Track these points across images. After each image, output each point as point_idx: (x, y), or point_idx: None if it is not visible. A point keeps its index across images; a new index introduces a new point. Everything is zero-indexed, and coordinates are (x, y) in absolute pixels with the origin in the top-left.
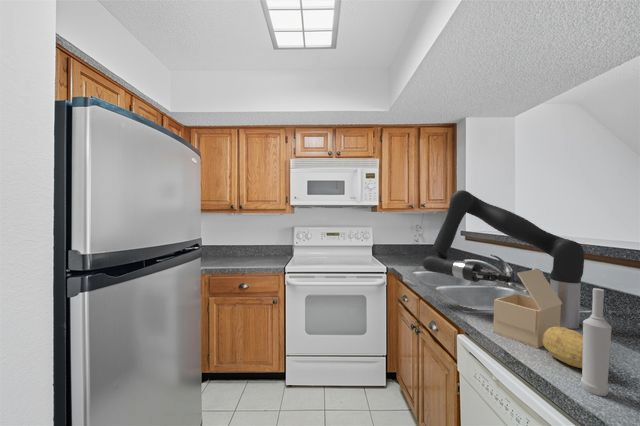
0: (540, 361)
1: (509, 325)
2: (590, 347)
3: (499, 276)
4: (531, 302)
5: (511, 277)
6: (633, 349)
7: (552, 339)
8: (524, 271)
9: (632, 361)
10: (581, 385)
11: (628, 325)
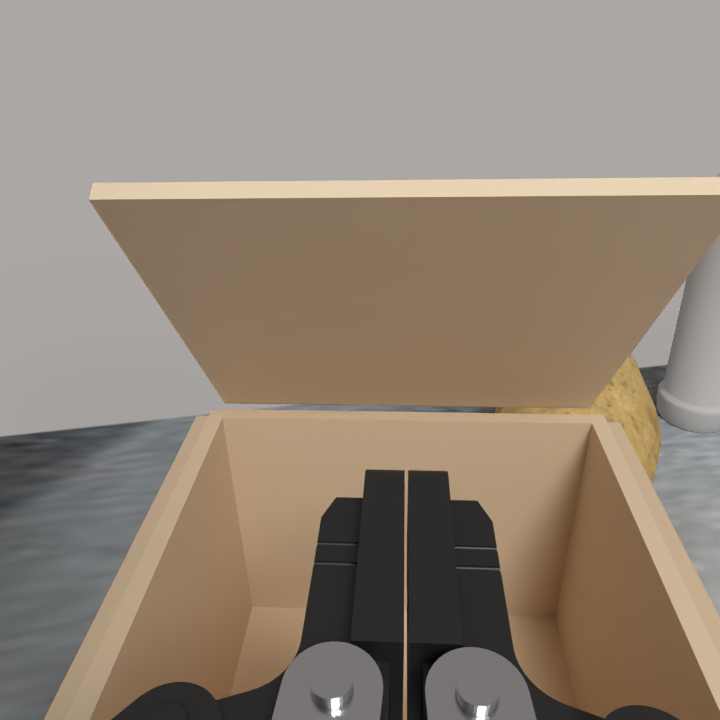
0: (705, 552)
1: None
2: None
3: (510, 643)
4: (163, 617)
5: (374, 473)
6: (134, 423)
7: (653, 443)
8: (546, 180)
9: (293, 408)
10: (716, 430)
11: None
